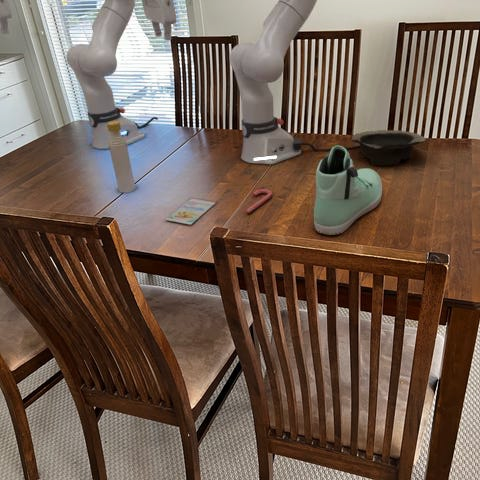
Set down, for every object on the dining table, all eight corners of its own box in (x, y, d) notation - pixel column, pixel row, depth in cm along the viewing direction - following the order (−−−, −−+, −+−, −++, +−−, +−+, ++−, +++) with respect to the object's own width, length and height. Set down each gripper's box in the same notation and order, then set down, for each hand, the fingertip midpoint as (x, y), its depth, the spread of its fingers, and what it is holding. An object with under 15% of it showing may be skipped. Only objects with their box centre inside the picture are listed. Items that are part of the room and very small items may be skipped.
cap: (109, 128, 152) (107, 121, 151) (121, 127, 152) (120, 120, 151) (107, 132, 149) (106, 125, 148) (120, 131, 149) (118, 124, 148)
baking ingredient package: (164, 218, 140) (191, 197, 151) (165, 220, 140) (191, 199, 151) (190, 223, 136) (215, 201, 148) (190, 225, 136) (216, 203, 148)
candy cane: (232, 210, 143) (232, 206, 142) (259, 190, 153) (259, 186, 152) (249, 215, 140) (248, 210, 139) (276, 194, 150) (275, 190, 149)
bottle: (119, 186, 164) (105, 122, 152) (136, 184, 164) (123, 120, 152) (117, 193, 159) (103, 127, 147) (134, 191, 159) (121, 125, 147)
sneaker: (389, 187, 148) (396, 123, 138) (356, 242, 123) (361, 168, 112) (346, 181, 154) (350, 119, 144) (306, 232, 129) (307, 161, 118)
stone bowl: (384, 176, 155) (384, 148, 151) (336, 158, 175) (335, 133, 171) (440, 157, 164) (442, 130, 159) (388, 142, 184) (389, 118, 180)
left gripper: (8, -16, 148) (22, 33, 155) (-17, -15, 161) (-3, 29, 168) (-12, -13, 144) (3, 36, 151) (-36, -13, 157) (-21, 32, 164)
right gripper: (177, -14, 130) (184, 40, 137) (156, -16, 146) (163, 33, 153) (155, -12, 127) (163, 44, 135) (136, -14, 144) (144, 35, 151)
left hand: (0, 32), depth 160 cm, fingers open, 8 cm apart
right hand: (163, 38), depth 144 cm, fingers open, 8 cm apart
